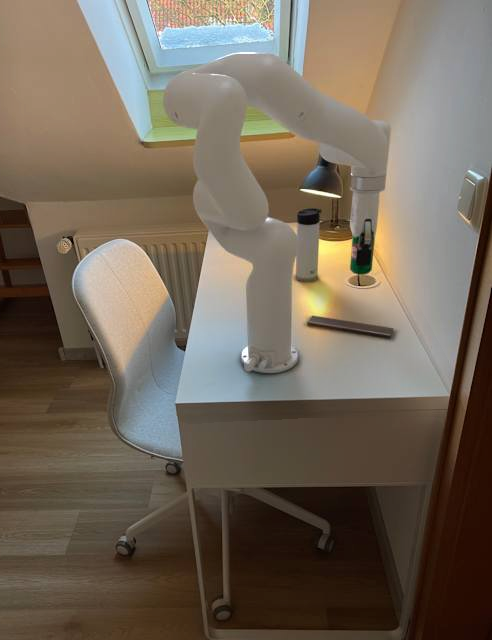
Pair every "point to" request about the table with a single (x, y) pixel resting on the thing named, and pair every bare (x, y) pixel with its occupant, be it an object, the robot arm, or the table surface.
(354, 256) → the soda can
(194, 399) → the table surface
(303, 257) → the travel mug
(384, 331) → the ruler
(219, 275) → the table surface
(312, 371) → the table surface
